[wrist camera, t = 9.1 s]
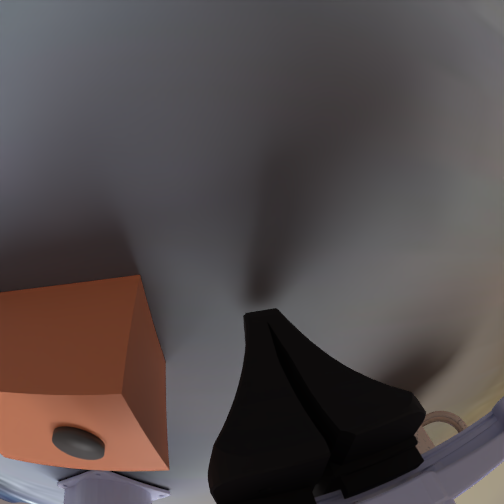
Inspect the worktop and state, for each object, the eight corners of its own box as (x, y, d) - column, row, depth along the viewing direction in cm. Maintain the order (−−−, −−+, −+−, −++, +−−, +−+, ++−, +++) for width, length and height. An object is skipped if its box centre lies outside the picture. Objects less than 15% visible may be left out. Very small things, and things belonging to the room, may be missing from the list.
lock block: (32, 367, 13) (3, 462, 7) (-9, 292, 11) (-67, 388, 5) (165, 360, 14) (170, 476, 9) (140, 273, 12) (120, 403, 6)
